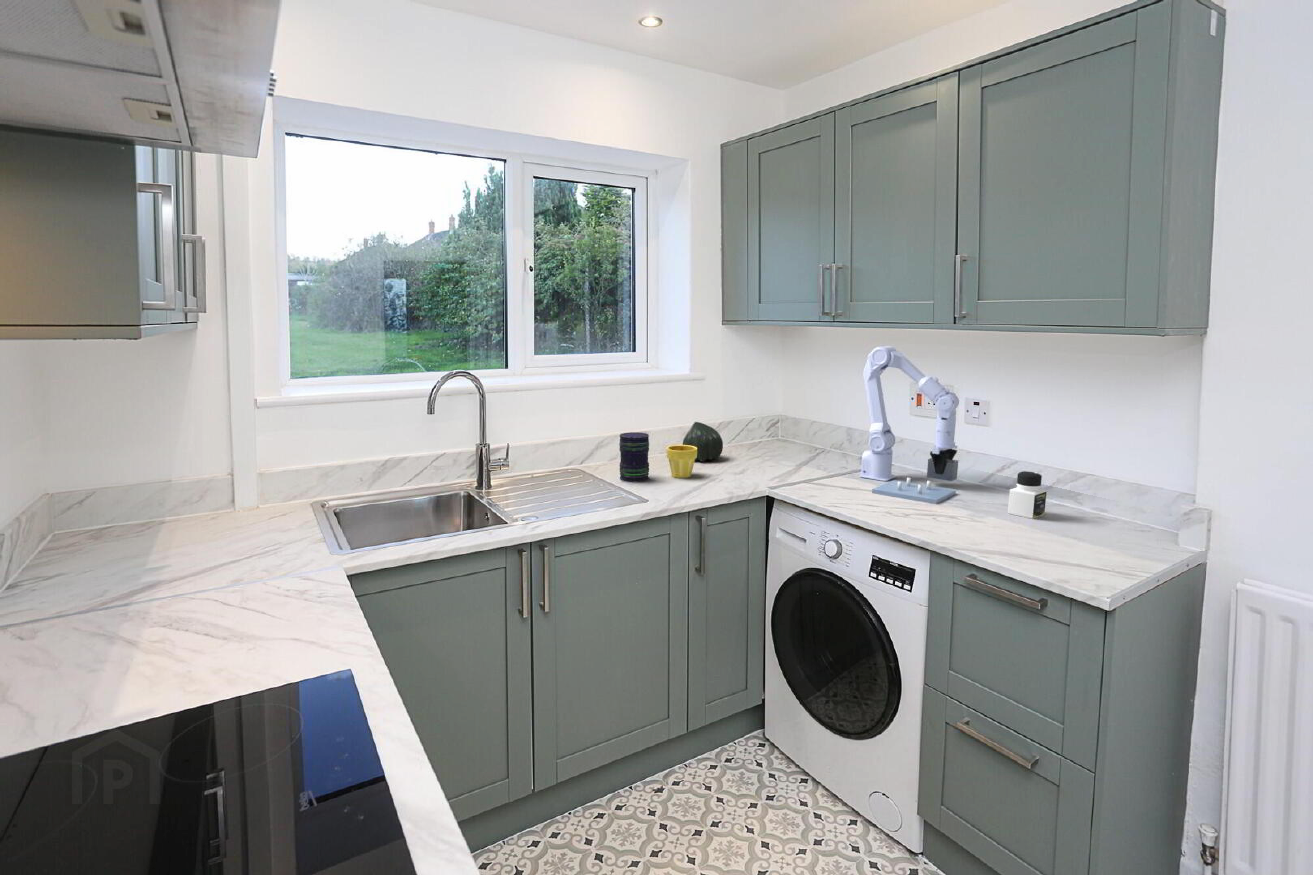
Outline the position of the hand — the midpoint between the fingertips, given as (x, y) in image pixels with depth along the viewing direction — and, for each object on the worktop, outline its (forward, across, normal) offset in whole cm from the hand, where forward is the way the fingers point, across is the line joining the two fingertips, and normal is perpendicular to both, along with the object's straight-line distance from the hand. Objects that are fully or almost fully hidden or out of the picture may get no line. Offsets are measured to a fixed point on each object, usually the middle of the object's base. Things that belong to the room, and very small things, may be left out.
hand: (942, 472), depth 242 cm
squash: (+5, -18, +83) cm, 85 cm away
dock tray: (+4, -15, +3) cm, 16 cm away
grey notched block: (+2, 0, 0) cm, 2 cm away
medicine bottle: (+4, -17, -30) cm, 35 cm away
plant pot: (+5, -44, +72) cm, 84 cm away
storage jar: (+5, -58, +81) cm, 100 cm away
